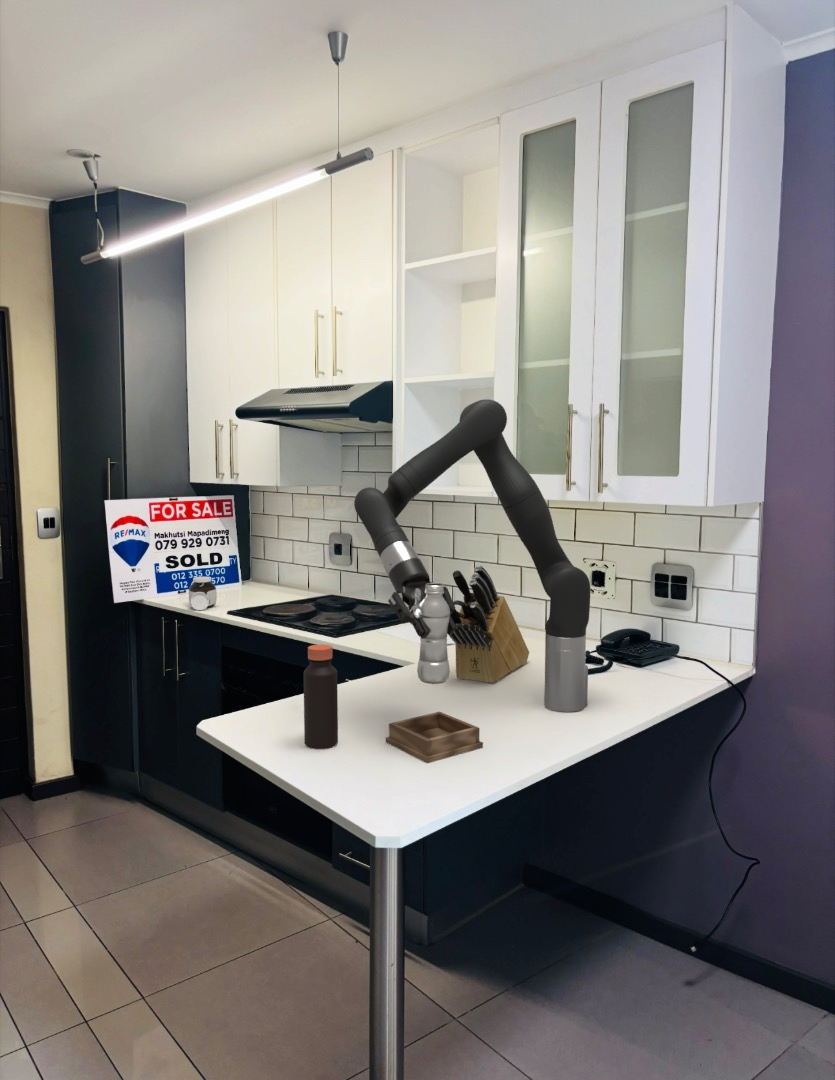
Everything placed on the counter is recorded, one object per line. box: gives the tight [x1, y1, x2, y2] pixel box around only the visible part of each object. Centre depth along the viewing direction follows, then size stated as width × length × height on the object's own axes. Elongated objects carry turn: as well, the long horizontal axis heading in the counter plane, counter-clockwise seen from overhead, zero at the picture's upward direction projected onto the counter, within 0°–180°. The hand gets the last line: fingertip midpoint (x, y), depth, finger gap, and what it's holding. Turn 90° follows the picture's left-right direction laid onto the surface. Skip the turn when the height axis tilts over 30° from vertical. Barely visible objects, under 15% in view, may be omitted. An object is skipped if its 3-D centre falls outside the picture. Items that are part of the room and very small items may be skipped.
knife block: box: [448, 565, 530, 684], centre depth 214 cm, size 11×35×31 cm, turn 151°
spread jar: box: [188, 576, 218, 611], centre depth 311 cm, size 12×11×12 cm
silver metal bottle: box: [416, 582, 451, 685], centre depth 160 cm, size 6×7×20 cm
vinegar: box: [303, 644, 339, 750], centre depth 162 cm, size 7×7×20 cm
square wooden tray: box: [385, 711, 484, 764], centre depth 162 cm, size 14×14×4 cm
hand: (439, 634), depth 159 cm, fingers closed on silver metal bottle, 6 cm apart
